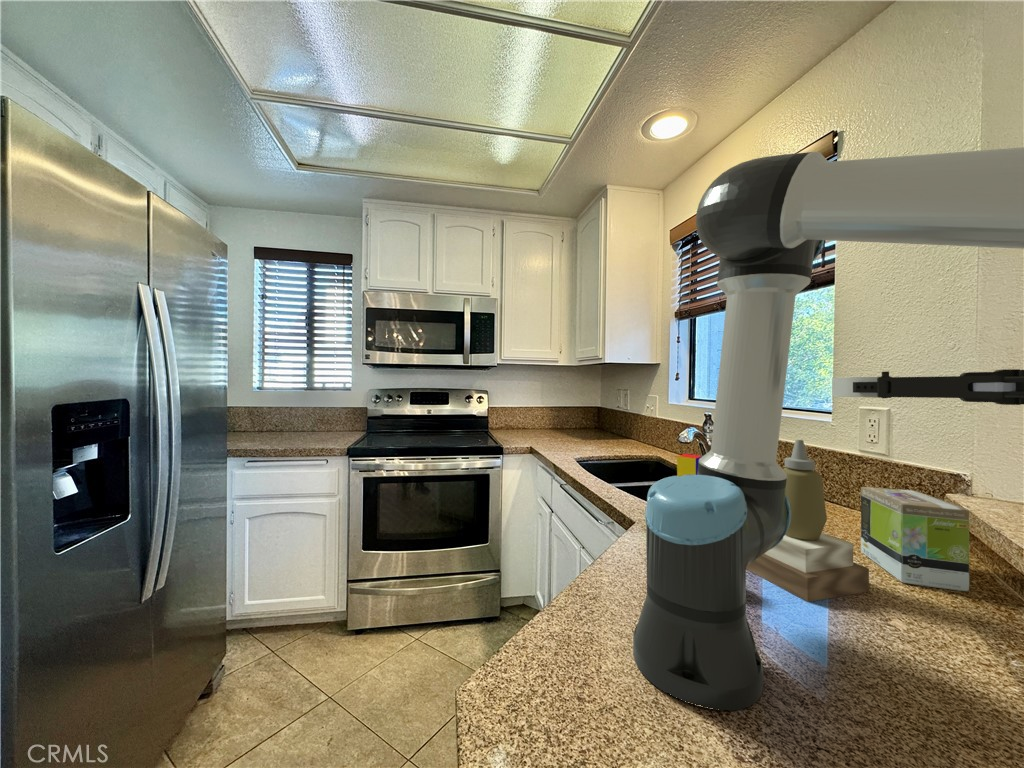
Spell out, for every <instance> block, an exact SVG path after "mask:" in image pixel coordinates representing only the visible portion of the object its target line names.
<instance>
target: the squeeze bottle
mask: <svg viewBox="0 0 1024 768" xmlns="http://www.w3.org/2000/svg"><path fill="white" fill-rule="evenodd" d="M784 467H785V468H782V469H783V470H784V471H785V472H786V473H787V482H786V491H785V495H786V496H787V498H788V501H789V504H790V508H791V521H790V525H789V528H788V531H787V533H786V535H788V536H791V537H794V538H799V539H805V540H817V539H819V538H820V535H821V533H823V531H824V528H825V526H826V523H827V520H828V517H827V510H826V501H825V494H824V485H823V479H822V475H821V473H819V472H817V471H816V470H815V469H816V460H814V459H811V458H808V453H807V450H806V446H805V443H804V440H803V439H795V442H794V444H793V449H792V452H791V456H790V457H785V458H784Z"/></svg>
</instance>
